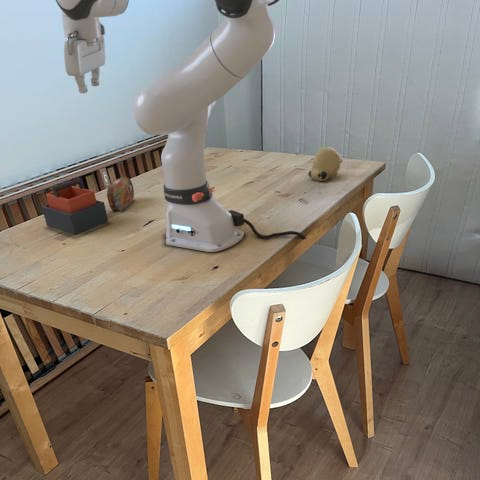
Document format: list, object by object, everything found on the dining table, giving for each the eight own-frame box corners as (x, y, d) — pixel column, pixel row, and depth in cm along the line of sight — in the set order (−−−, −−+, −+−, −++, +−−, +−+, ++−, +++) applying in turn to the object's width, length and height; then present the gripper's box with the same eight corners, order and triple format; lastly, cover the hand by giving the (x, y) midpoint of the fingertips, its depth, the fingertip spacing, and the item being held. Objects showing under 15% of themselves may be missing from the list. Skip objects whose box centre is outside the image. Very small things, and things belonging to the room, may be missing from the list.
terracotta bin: (101, 222, 146) (91, 180, 139) (76, 232, 140) (65, 189, 133) (78, 215, 152) (68, 175, 145) (54, 225, 146) (42, 183, 139)
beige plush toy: (314, 185, 176) (298, 170, 169) (329, 155, 176) (314, 139, 168) (334, 190, 170) (319, 175, 162) (350, 159, 169) (335, 142, 161)
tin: (118, 215, 152) (112, 188, 148) (109, 214, 153) (103, 188, 148) (136, 198, 164) (131, 173, 160) (127, 198, 165) (122, 173, 160)
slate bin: (108, 223, 146) (104, 202, 142) (75, 237, 138) (70, 215, 135) (80, 215, 154) (75, 194, 150) (47, 228, 146) (41, 206, 142)
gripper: (79, 34, 113) (87, 98, 121) (106, 26, 130) (112, 83, 138) (53, 32, 114) (63, 96, 122) (83, 25, 130) (91, 81, 138)
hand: (89, 89), depth 130 cm, fingers open, 8 cm apart
